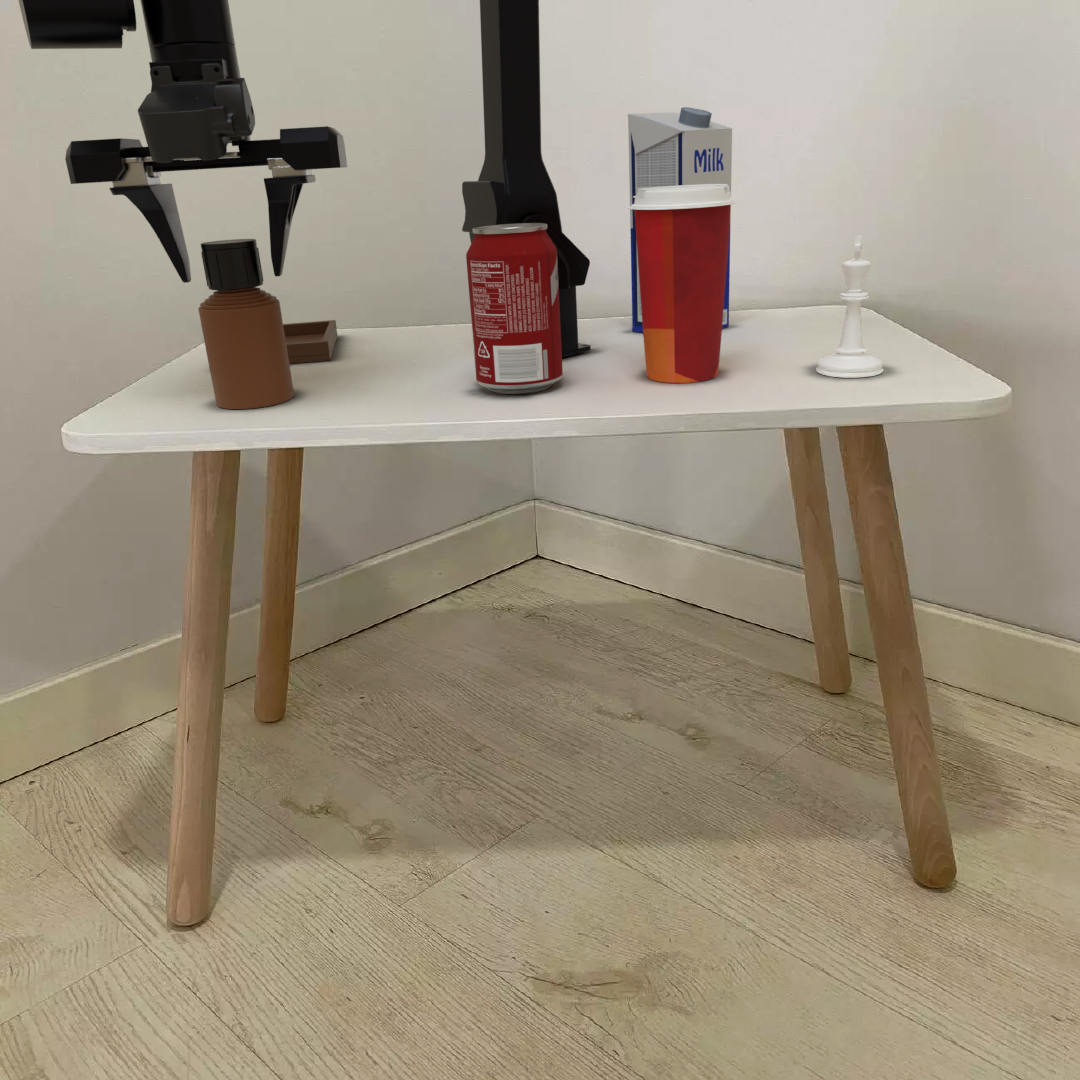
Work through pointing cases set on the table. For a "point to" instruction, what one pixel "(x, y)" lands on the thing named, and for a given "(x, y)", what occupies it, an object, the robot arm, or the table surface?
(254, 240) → the cap
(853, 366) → the chess piece
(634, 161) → the milk carton
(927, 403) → the table surface
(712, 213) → the paper cup
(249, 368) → the bottle
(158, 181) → the robot arm
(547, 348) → the soda can
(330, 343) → the tray
